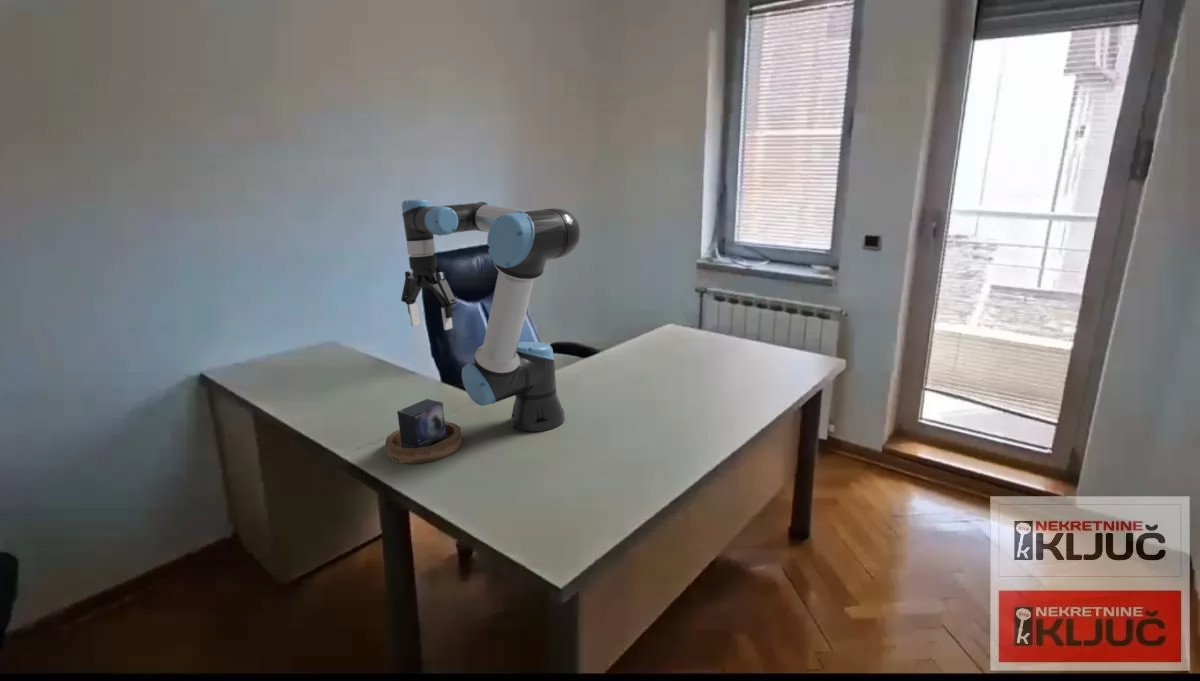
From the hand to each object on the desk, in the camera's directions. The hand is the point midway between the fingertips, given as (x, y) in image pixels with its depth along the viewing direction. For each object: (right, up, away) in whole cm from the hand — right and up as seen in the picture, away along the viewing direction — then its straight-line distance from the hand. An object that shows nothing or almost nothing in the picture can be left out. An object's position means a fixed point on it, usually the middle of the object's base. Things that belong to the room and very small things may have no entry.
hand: (431, 327), depth 181 cm
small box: (+3, -31, -18) cm, 36 cm away
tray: (+3, -32, -18) cm, 37 cm away
